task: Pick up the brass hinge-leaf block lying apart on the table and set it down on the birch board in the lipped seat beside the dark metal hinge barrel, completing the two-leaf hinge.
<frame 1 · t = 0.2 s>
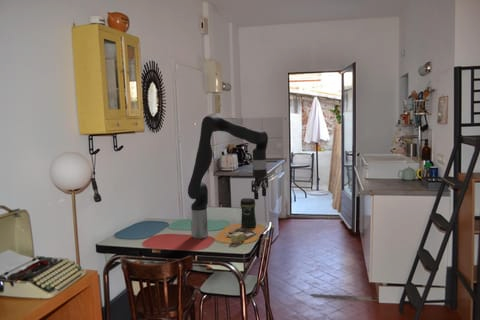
hand: (260, 197, 215), 28 cm above the table, fingers open, 8 cm apart
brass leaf: (238, 242, 231), on the table
coffee jar: (248, 226, 261), on the table
hinge board: (241, 235, 243), on the table
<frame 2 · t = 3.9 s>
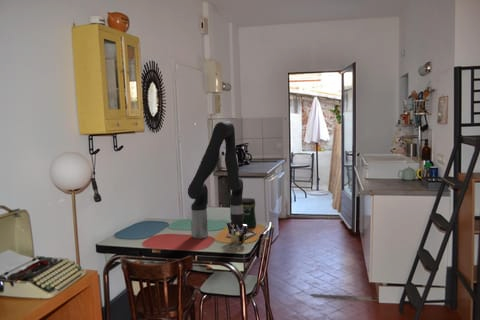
hand: (238, 240, 231), 1 cm above the table, fingers closed on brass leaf, 4 cm apart
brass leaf: (238, 241, 231), on the table, touching gripper
everything else where it was.
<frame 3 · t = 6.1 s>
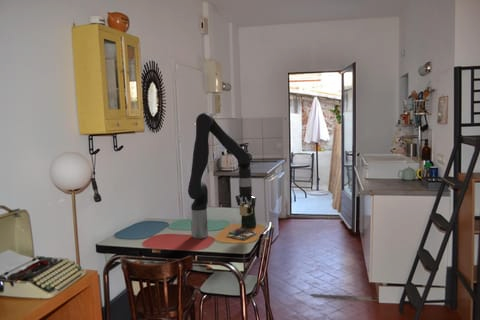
hand: (246, 213, 239), 14 cm above the table, fingers closed on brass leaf, 4 cm apart
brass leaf: (246, 214, 239), point 14 cm above the table, touching gripper
everything else where it was.
when the fingers open (4 cm above the table, at t = 8.7 s): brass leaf drops 2 cm, resting on hinge board.
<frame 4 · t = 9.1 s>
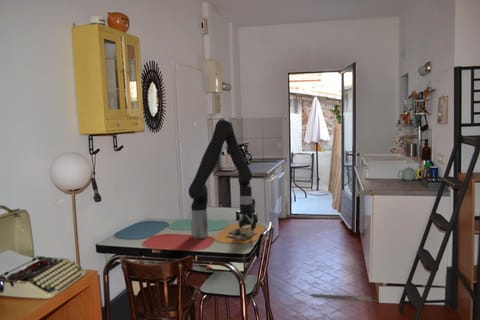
hand: (246, 229, 240), 5 cm above the table, fingers open, 8 cm apart
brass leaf: (247, 234, 240), point 1 cm above the table, touching hinge board
everything else where it was.
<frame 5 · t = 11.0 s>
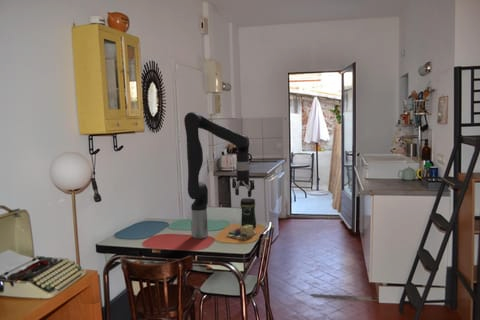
hand: (243, 196, 235), 25 cm above the table, fingers open, 8 cm apart
nothing on the table moved.
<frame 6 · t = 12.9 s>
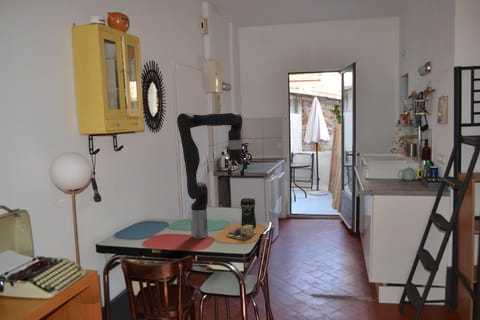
hand: (236, 176, 229), 38 cm above the table, fingers open, 8 cm apart
nothing on the table moved.
at the end: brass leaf 0.1 cm from the target spot on the hinge board, point 1.2 cm above the hinge board's base; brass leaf tilted 0°; the gripper is holding nothing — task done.
